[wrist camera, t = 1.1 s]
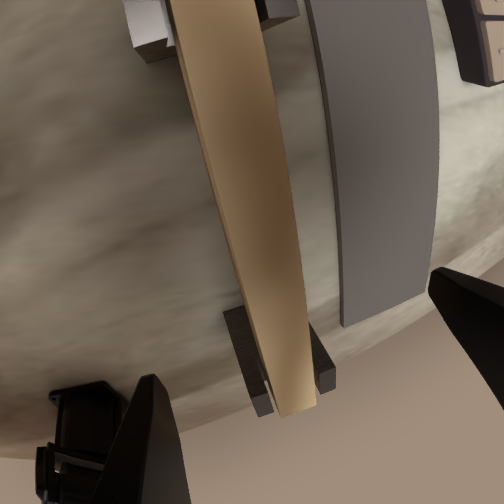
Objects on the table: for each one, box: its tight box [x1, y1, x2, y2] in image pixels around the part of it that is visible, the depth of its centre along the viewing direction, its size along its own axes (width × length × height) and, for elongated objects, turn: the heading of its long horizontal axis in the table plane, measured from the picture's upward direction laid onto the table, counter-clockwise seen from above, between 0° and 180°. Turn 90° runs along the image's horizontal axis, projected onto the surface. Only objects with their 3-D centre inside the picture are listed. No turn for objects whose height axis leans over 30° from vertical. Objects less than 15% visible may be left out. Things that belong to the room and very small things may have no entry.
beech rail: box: [165, 0, 316, 418], centre depth 13 cm, size 2×24×2 cm, turn 12°
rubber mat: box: [305, 0, 439, 328], centre depth 19 cm, size 9×28×1 cm, turn 12°
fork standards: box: [123, 0, 336, 417], centre depth 15 cm, size 5×21×8 cm, turn 12°
